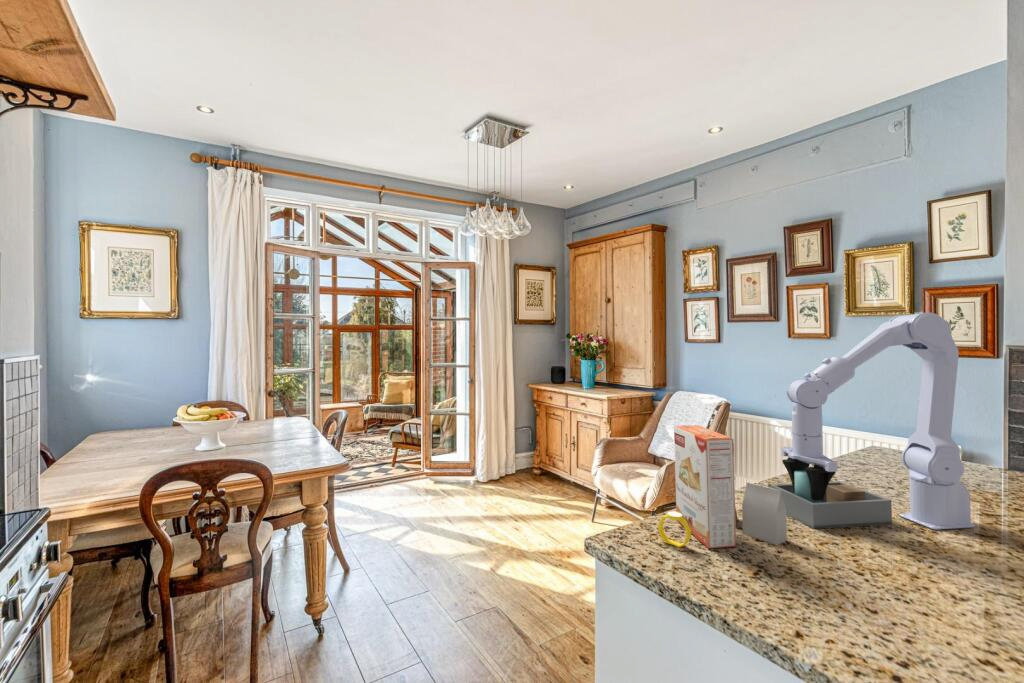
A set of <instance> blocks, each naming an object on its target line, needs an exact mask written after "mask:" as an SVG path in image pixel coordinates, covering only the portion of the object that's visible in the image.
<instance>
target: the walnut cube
mask: <svg viewBox="0 0 1024 683" xmlns="http://www.w3.org/2000/svg"><path fill="white" fill-rule="evenodd" d="M849 485H850V484H848V485H828V486H827V489H826V494H827V502H843V501H861V500H865V491H866V490H865V491H863V490H864V489H862V490H860V489H861V488H859V489H857V488H858V487H856V486H854V487H852V486H853V485H851V486H849ZM855 487H856V488H855Z"/></svg>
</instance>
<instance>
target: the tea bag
mask: <svg viewBox="0 0 1024 683" xmlns="http://www.w3.org/2000/svg"><path fill="white" fill-rule="evenodd" d="M745 484H746V485H745V490H744V494H743V498H742V503H741V505H742V506H741V507H742V509H741V511H742V515H741V516H742V534H743V535H746V536H749V537H751V538H754V539H757V540H760V541H764V542H766V543H770V544H772V545H775V546H778V545H780V544H783V543H784V542H787V541H788V533H787V532H788V530H787V529H788V527H787V515H786V507H785V504H784V501H783V496H782V491H781V490H777V489H773V488H770V487H768V486H763V485H760V484H757V483H751V482H746V483H745Z"/></svg>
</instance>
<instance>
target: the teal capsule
mask: <svg viewBox="0 0 1024 683" xmlns="http://www.w3.org/2000/svg"><path fill="white" fill-rule="evenodd" d="M794 475H795V495H797V496H799V497H801V498H804V499H806V500H808V501H810V502H812V503H822V500H821V501H814V500H812V497H811V489H810V482H809V478H808V475H807V473H806V471H805V470H796V471H794Z"/></svg>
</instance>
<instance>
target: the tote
mask: <svg viewBox="0 0 1024 683" xmlns="http://www.w3.org/2000/svg"><path fill="white" fill-rule="evenodd" d="M828 485H849V486H852V487H855V488H857V489H860V490H863V491H865V500H861V501H843V502H827V494H826V492H825V496H824V499H823V500H822V503H812V502H810V501H808V500H806V499H804V498H801V497H799V496H797V495H795V492H794V489H793V485H792V483H782V484H781V483H780V484H779V483H778V484H770V485H769V486H770V487H769V488H773V489H777V490H781V491H782V496H783V501H784V504H785V507H786V516H788V517H790V518H792V519H794V520H796V521H798V522H799V523H802V524H803V525H806V526H807V527H809V528H811V529H812V530H816V529H833V528H837V529H838V528H850V527H851V528H852V527H866V526H867V527H868V526H884V525H885V526H886V525H893V518H892V515H893V513H892V511H893V510H892V499H889V498H886V497H883V496H880V495H877V494H875V493H873V492H871V491H870V492H869V491H867V490H864V489H861V488H858V487H856V486H853V485H850V484H848V483H845V482H842V481H838V480H837V481H830V482H829V484H828Z"/></svg>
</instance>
